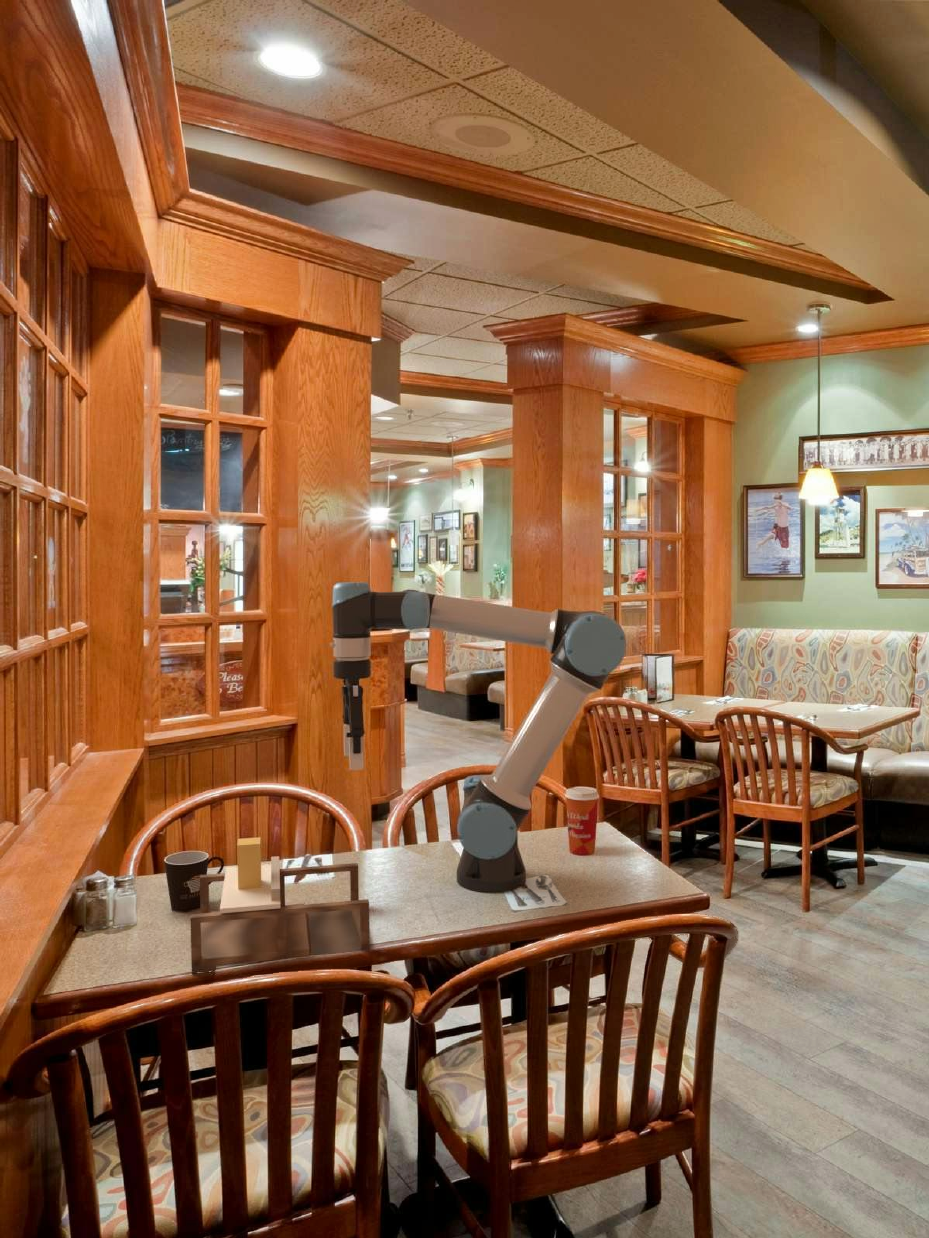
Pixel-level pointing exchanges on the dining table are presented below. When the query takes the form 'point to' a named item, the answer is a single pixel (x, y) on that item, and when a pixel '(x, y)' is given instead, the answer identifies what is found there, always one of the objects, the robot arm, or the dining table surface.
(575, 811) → the coffee cup
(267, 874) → the lid
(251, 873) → the block
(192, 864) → the coffee mug
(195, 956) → the wooden organizer rack
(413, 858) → the dining table surface
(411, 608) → the robot arm
